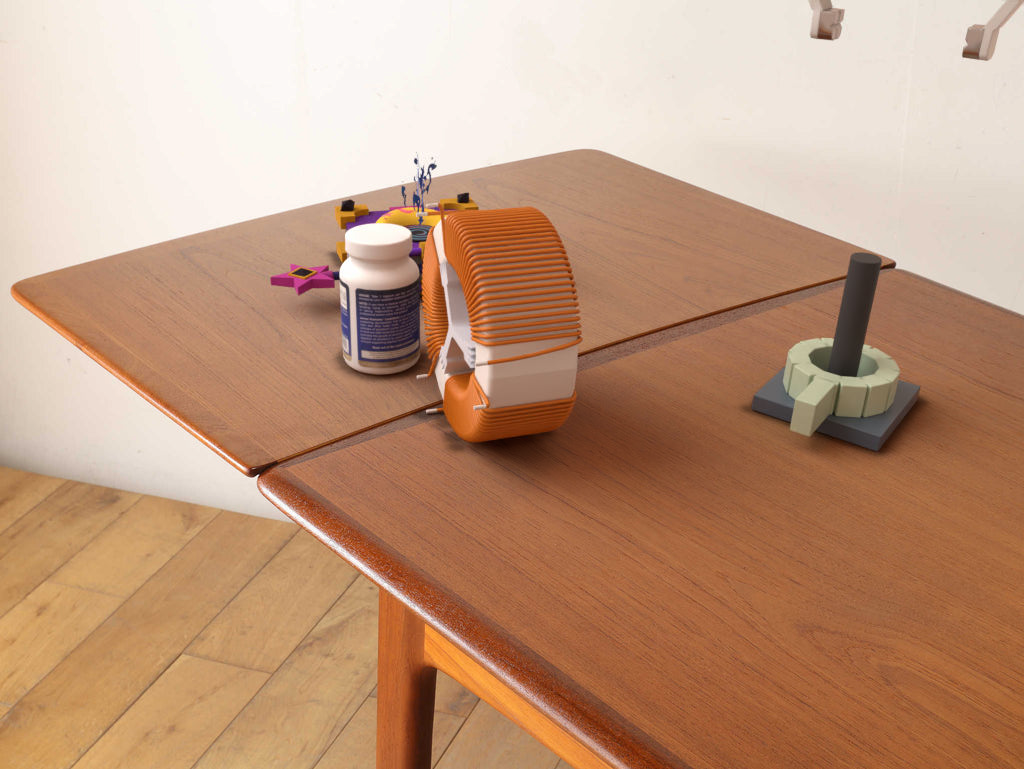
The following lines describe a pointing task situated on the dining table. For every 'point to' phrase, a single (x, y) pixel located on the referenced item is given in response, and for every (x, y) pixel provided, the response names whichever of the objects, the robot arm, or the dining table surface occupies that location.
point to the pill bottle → (380, 299)
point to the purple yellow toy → (361, 215)
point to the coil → (500, 321)
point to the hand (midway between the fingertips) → (898, 48)
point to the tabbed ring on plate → (836, 385)
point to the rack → (847, 365)
